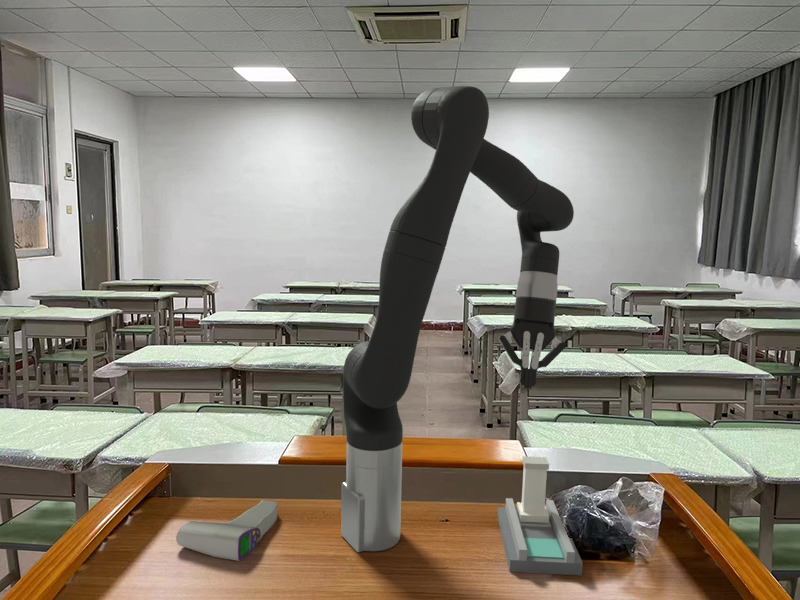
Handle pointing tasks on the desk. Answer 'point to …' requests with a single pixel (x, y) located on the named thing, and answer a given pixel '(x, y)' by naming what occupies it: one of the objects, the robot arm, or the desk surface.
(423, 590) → the desk surface
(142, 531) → the desk surface
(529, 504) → the switch tab
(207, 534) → the infrared thermometer
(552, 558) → the switch panel
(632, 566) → the desk surface
